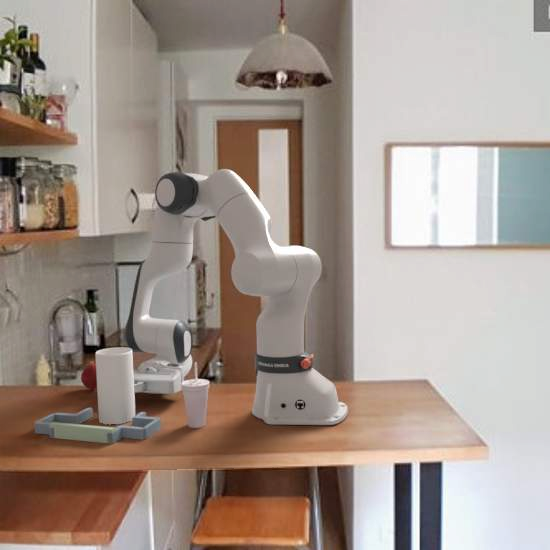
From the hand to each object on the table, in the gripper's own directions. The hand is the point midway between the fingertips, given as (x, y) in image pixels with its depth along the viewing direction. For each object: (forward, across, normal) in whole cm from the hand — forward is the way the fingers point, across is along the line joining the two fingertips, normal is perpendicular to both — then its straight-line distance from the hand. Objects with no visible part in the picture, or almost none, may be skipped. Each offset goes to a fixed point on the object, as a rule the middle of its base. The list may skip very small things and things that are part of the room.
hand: (125, 390), depth 135 cm
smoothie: (+4, +20, +6) cm, 21 cm away
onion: (-15, -20, +6) cm, 26 cm away
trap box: (+11, 0, +6) cm, 12 cm away
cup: (+4, 0, +6) cm, 7 cm away
